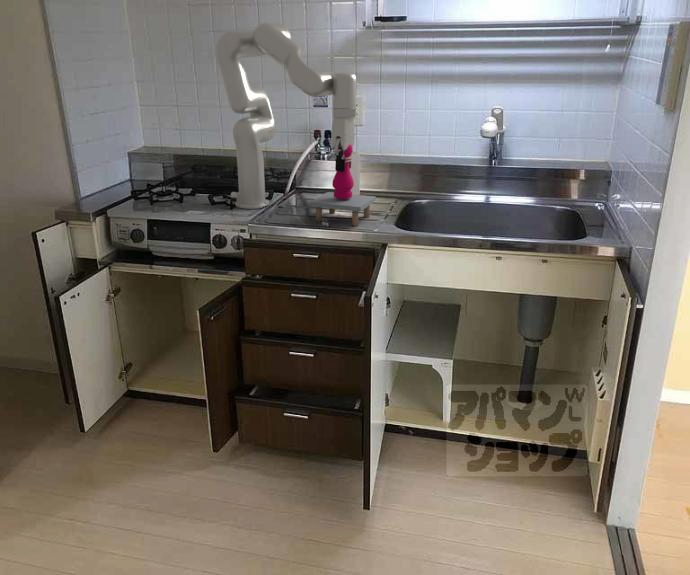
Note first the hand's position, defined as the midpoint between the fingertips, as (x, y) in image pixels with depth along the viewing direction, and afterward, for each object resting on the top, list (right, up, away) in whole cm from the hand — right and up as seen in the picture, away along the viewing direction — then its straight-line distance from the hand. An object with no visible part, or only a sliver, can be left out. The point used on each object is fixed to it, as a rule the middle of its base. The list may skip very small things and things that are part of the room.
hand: (343, 169), depth 201 cm
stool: (0, -16, +6) cm, 17 cm away
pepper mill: (0, -9, +4) cm, 10 cm away
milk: (+2, -9, +25) cm, 27 cm away
